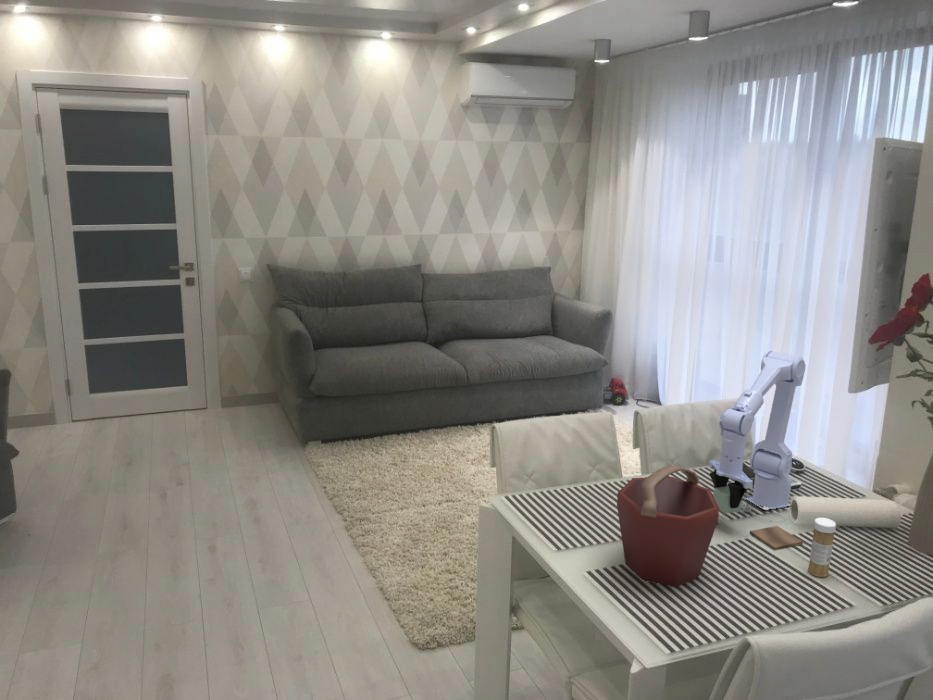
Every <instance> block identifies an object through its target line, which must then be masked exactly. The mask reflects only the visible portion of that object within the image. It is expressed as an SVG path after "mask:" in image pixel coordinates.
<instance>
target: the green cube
mask: <svg viewBox="0 0 933 700" xmlns="http://www.w3.org/2000/svg"><path fill="white" fill-rule="evenodd" d="M713 497H714V499H715V501H716V503H717V505H718V507H719V512H721V513H723V514H725V515H726V514H730V513H731V514H732V513H737V512H740V511H741V509H742V500H743V498H742V499H741V501H740V504H739V506H738V508H731V507H730V490H729V487H728V485H727V486H724V487H718V488H714V487H713Z"/></svg>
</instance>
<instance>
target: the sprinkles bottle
mask: <svg viewBox="0 0 933 700" xmlns="http://www.w3.org/2000/svg"><path fill="white" fill-rule="evenodd" d="M813 523H814V524H813V535H812V536H813V537H812V542H811V547H810V553H809V554H810V555H809V563H808V568H807V571H808V572H809V574H811V576H814V577H816V578H817V577H818V578H827V577H828V576H829V574H830V572H829V571H830V564H831V559H832V553H833V547H834V538H835V537H834V536H835V532H836V528H837V523H836V522H835V521H834V520H832V519H829V518H828V517H816V518H815V519H814V522H813Z"/></svg>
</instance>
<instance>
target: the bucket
mask: <svg viewBox="0 0 933 700" xmlns="http://www.w3.org/2000/svg"><path fill="white" fill-rule="evenodd" d="M680 471H681V472H683V473H684V474H685V476H686V477H687V479H686V480H683V479H679V478H677V477H673V476H671V475H672V474H675V473H678V472H680ZM699 482H700V479H699V476H698V475H697V473H696V472H695V471H693V470H691V469H688V468H685V467H682V466H677V465H674V464H673V465H672V464H669V465H667V466H664V467H661V468H659V469H658V470H656V471H654V472H653V473H651V474H650V475H649V476H647V477H633V478H631V479H630V480H629V481H628V482H627V483H626V484H625V485H624V486H623V487H622V488H620V490H619V491H618V492H617V497H616V498H617V499H616V500H617V501H616V507H617V515H618V521H619V527H620V529H619V530H620V534H621V544H622V549H623V550H622V551H623V556H624V564H626V565H627V566H628V567H629V568H630V569H629V568H628V567H627V566H626V565H625V566H626V567H627V568H628V569H629V570H630V571H631V572H633V571H634V572H635V573H636V574H637V575H638V576H639V577H640V578H641V579H642V580H644V581H643V582H646V581H650V582H649V583H651V582H654V583H653V584H657V583H659V584H658V585H662V584H664V585H663V586H667V585H669V586H668V587H672V586H673V588H677V587H680V586H682V585H685V584H687V583H690V582H692V581H695V580H697V579H699V576H700V574H701V571H702V568H703V566H704V563H705V560H706V556H707V554H708V550H709V548H710V545H711V542H712V539H713V537H714V534H715V530H716V528H717V525H718V522H719V514H720V510H719V507H718V505H717V503H716V501H715V499H714V497H713V495H714V493H713V492H712V491H711V489H710V488H707V487H704V486H700V485H698V484H699ZM634 572H633V573H634ZM635 573H634V574H635ZM636 574H635V575H636ZM637 575H636V576H637ZM638 576H637V577H638ZM639 577H638V578H639ZM640 578H639V579H640ZM641 579H640V580H641ZM642 580H641V581H642ZM689 581H690V582H689Z"/></svg>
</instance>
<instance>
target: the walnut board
mask: <svg viewBox="0 0 933 700" xmlns="http://www.w3.org/2000/svg"><path fill="white" fill-rule="evenodd" d="M749 535H751V536H752V537H754V538H755V539H757V540H758V541H760V542H762V543H763V544H764V545H766V546H767V547H769V548H770V549H771V550H773V551H778V550H782V549H783V550H784V549H787V548H791V547H797V546H801V544H802V545H803V543H804V542H803V541H802V540H801V539H799V538H798V537H796V536H795V535H793V534H791V533H790V532H788V531H786V530H785V529H783V528H781V527H780V526H778V525H775V526H769V527H768V526H767V527H763V528H759V529H752V530H749Z"/></svg>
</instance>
